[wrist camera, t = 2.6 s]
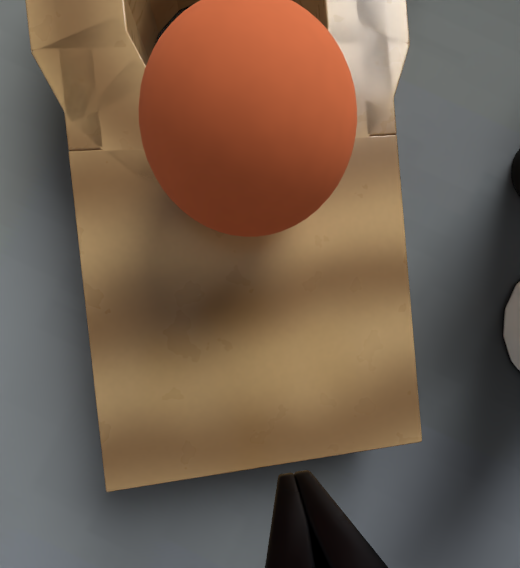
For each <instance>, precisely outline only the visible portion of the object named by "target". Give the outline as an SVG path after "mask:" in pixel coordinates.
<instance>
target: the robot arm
mask: <svg viewBox="0 0 520 568" xmlns="http://www.w3.org/2000/svg"><path fill="white" fill-rule="evenodd" d="M265 568H388V567H387V566H386V564H385V563H384V562H383V561H382V559H381V558H380V557H379V556H378V554H377V553H376V552H375V551H374V549H373V548H372V547H371V546H370V545H369V543H368V542H367V541H366V540H365V538H364V537H363V536H362V535H361V533H360V532H359V531H358V530H357V528H356V527H355V526H354V525H353V524H352V522H351V521H350V520H349V519H348V517H347V516H346V515H345V514H344V512H343V511H342V510H341V509H340V507H339V506H338V505H337V504H336V503H335V501H334V500H333V499H332V498H331V496H330V495H329V494H328V493H327V491H326V490H325V489H324V488H323V487H322V485H321V484H320V483H319V482H318V480H317V479H316V478H315V477H314V475H313V474H312V473H311V472H310V471H308V470H304V471H298V472H295V473H294V474H293V473H286V474H280V475H279V476H278V482H277V489H276V496H275V503H274V510H273V517H272V524H271V531H270V538H269V545H268V552H267V559H266V566H265Z"/></svg>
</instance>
